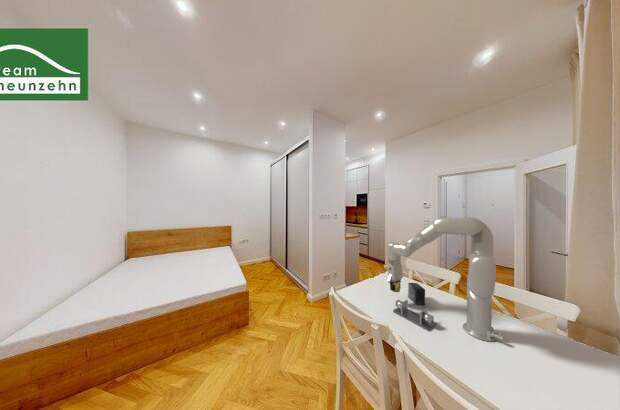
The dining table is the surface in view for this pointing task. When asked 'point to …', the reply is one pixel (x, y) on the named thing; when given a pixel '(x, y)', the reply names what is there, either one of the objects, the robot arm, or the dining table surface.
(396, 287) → the valve
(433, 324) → the grey bar with knobs
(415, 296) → the small box
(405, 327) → the dining table surface
